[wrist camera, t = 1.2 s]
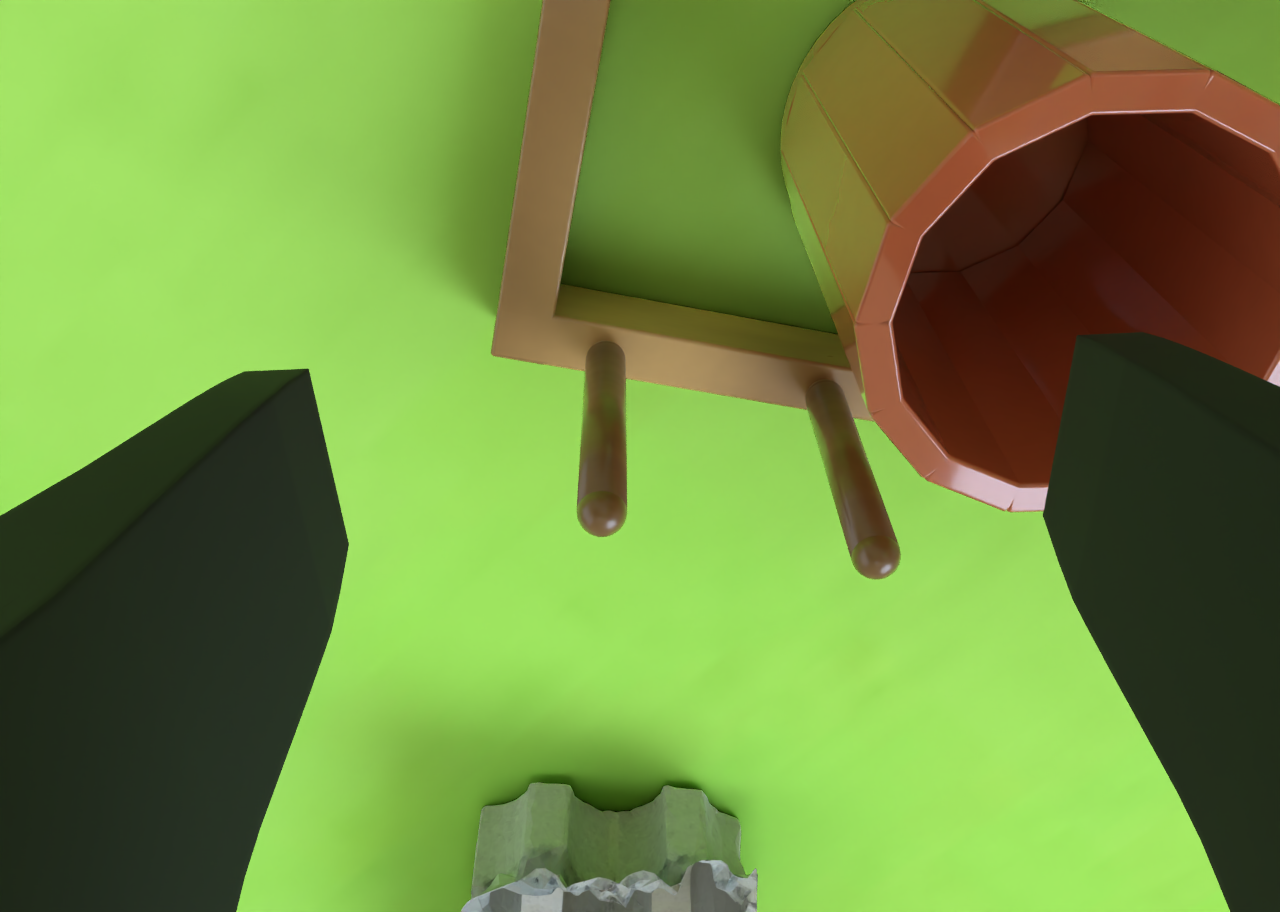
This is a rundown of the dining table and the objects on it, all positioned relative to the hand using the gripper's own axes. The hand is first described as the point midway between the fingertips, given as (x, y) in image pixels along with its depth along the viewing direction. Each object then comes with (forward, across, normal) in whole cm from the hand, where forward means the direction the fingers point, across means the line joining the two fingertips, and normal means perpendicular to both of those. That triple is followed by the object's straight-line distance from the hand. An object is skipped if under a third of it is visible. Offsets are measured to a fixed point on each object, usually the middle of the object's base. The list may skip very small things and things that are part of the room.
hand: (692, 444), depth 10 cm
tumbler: (+10, -5, 0) cm, 11 cm away
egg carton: (+10, +2, +21) cm, 23 cm away
